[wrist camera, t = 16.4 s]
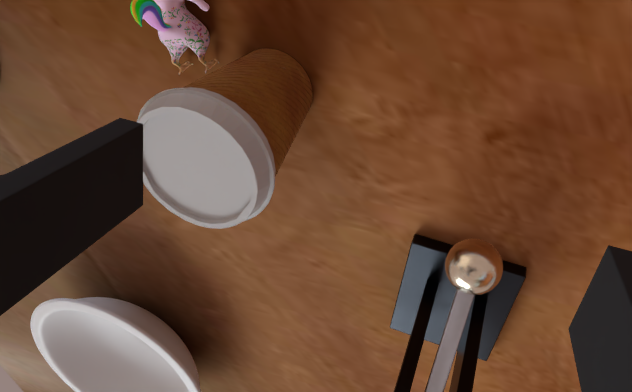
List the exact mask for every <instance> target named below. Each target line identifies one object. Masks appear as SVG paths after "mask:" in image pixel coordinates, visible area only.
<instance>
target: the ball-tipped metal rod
mask: <svg viewBox="0 0 632 392" xmlns="http://www.w3.org/2000/svg"><path fill="white" fill-rule="evenodd" d="M445 272H446V275H447V278H448V280H449V281H450V283H451V284H452V285H453V286H454V287H455V288H456V289H457V290H456V293H455V296H454V299H453V303H452V306H451V309H450V312H449V315H448V319H447V322H446V325H445V328H444V331H443V335H442V338H441V341H440V344H439V347H438V351H437V354H436V357H435V360H434V363H433V367H432V370H431V373H430V376H429V379H428V382H427V386H426V389H425V392H444V388H445V385H446V382H447V379H448V376H449V373H450V370H451V367H452V363H453V360H454V357H455V354H456V351H457V348H458V345H459V342H460V339H461V335H462V332H463V329H464V326H465V323H466V320H467V317H468V314H469V311H470V307H471V304H472V301H473V298H474V295H480V294H484V293H487V292H489V291H491V290H492V289H493V288H494V287H496V285H497V284H498V283H499V281H500V279H501V277H502V274H503V262H502V258H501V256H500V254H499V252H498V251H497V250H496V248H495V247H494V246H492V245H491V244H490V243H488V242H486V241H484V240H481V239H465V240H462V241H460V242H458V243H456V244H455V245H454V246H453V247H452V248H451V249H450V250H449V252H448V254H447V256H446V260H445Z"/></svg>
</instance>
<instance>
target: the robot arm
mask: <svg viewBox="0 0 632 392" xmlns="http://www.w3.org/2000/svg"><path fill="white" fill-rule="evenodd" d="M142 205H143V124H141V123H138V122H134V121H130V120H126V119H122V118H119V119H117V120H115V121H113V122H111V123H109V124H107V125H105V126H103V127H101V128H99V129H97V130H95V131H93V132H91V133H89V134H87V135H85V136H82V137H80V138H78V139H76V140H74V141H72V142H70V143H68V144H66V145H64V146H62V147H60V148H58V149H56V150H54V151H52V152H50V153H48V154H46V155H44V156H42V157H40V158H38V159H36V160H34V161H32V162H30V163H28V164H26V165H24V166H21V167H19V168H17V169H15V170H13V171H11V172H9V173H7V174H4V175H0V316H1V315H2V314H3V313H5V312H6V311H7V310H8V309H10V308H11V307H12V306H14V305H15V304H16V303H17V302H19V301H20V300H21V299H23V298H24V297H25V296H26V295H28V294H29V293H30V292H32V291H33V290H34V289H35V288H37V287H38V286H39V285H41V284H42V283H43V282H44V281H46V280H47V279H48V278H50V277H51V276H52V275H53V274H55V273H56V272H57V271H59V270H60V269H61V268H62V267H64V266H65V265H66V264H68V263H69V262H70V261H71V260H73V259H74V258H75V257H77V256H78V255H79V254H80V253H82V252H83V251H84V250H86V249H87V248H88V247H89V246H91V245H92V244H93V243H95V242H96V241H97V240H98V239H100V238H101V237H102V236H104V235H105V234H106V233H107V232H109V231H110V230H111V229H113V228H114V227H115V226H117V225H118V224H119V223H120V222H122V221H123V220H124V219H126V218H127V217H128V216H129V215H131V214H132V213H133V212H135V211H136V210H137V209H138V208H140V207H141V206H142ZM569 333H570V338H571V343H572V348H573V352H574V357H575V362H576V367H577V372H578V376H579V381H580V386H581V391H582V392H632V251H628V250H624V249H620V248H616V247H612V246H609V245H608V247H607V249H606V252H605V254H604V256H603V258H602V260H601V262H600V264H599V266H598V268H597V270H596V272H595V275H594V277H593V279H592V281H591V283H590V285H589V287H588V289H587V291H586V293H585V295H584V298H583V300H582V302H581V304H580V306H579V308H578V310H577V312H576V314H575V316H574V318H573V320H572V323H571V325H570V327H569Z"/></svg>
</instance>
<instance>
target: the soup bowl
mask: <svg viewBox="0 0 632 392" xmlns="http://www.w3.org/2000/svg"><path fill="white" fill-rule="evenodd" d="M31 332H32V335H33V338H34V341H35V343H36V345H37V347H38V349H39V351H40V352H41V354H42V356H43V357H44V358H45V360H46V361H47V363H48V364H49V365H50V366H51V368H52V369H53V370H54V371H55V372H56V373H57V375H58V376H59V377H60V378H61V379H62V380H63V381H64V382H65V383H66V384H67V385H68V386H70V387H71V388H72V389H73V390H74V391H75V392H201V390H200V382H199V376H198V372H197V368H196V365H195V362H194V360H193V358H192V356H191V354H190V352H189V350H188V348H187V347H186V345H185V344H184V342H183V341H182V340H181V338H180V337H179V336H178V335H177V334H176V333H175V332H174V331H173V330H172V329H171V328H170V327H169V326H168V325H167V324H166V323H165V322H163V321H162V320H161V319H159V318H158V317H157V316H155V315H154V314H152V313H150V312H149V311H147V310H145V309H143V308H141V307H139V306H137V305H134V304H132V303H129V302H126V301H123V300H119V299H113V298H106V297H87V298H81V299H76V300H75V299H67V298H57V299H51V300H48V301H45V302H43V303H42V304H40V305H39V306H38V307H37V308H36V309H35V310H34V312H33V314H32V316H31Z"/></svg>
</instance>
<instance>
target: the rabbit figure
mask: <svg viewBox="0 0 632 392" xmlns="http://www.w3.org/2000/svg"><path fill="white" fill-rule="evenodd" d="M189 1H192V2H194V3H195V4H197V5H198V6H199V7H200V8H201V9H202V10H203V11H208V10H209V8H210V7H209V5H208V4H207V3H206V2H205V1H203V0H189ZM158 5H159V6H160V8H161V10H162V13H161V10H160V8H159V6H158ZM130 10H131V13H132V16H133V17H134V19H135V20H136V22H137V23H138V24H139V25H140V26H141V27H142V19H145V20H146V22H147V23H148V24H150V25H151V26H152V27H154V28H156V29H157V30H158V35H159V38H160V40H161V42H162V43H163V44H164V45H165V46H166V47H167V48H168V50H169V52H170V54H171V60H172V63H173V64H174V65H176V66H177V67H178V68H180V71H179V76H180V73H181V72H184V71H185V69H187V68H188V67H189V66H190V65H193V64H192V63H190V62H189V61H187V62H185V64H184V63H183V64H182V65H181V64H180V63H179V58H180V57H181V55H182V54H183V53H184V52H185V51H186V50H187V48H188V47H189V48H191V49H192V50H193V51H194V53H195V54H196V55H197V56H198V59H199V61H200V62H202V63H203V64H204V65H205V66H206V70H205V74H206V72H207V70H210V69H211V68H212V67H213V66H214V65H216V63H217V62H218V63H219V61H216V59H213V60H211V62H208V63H207V62H206V61H205V60H204V56H205V53H206V50H207V48H208V45H209V43H210V35H209V32H208V30H207V28H206V27H205V26H204V25H203V24H202V23H201V22H200V21H199V20H198V19H197V18H196V17H195V16H194V15H193V14H191V13H190V12H189V11H188V10H187V8H186V6H185V0H133V1H132V2H131V5H130ZM214 60H215V61H216V62H214ZM189 63H190V64H189Z"/></svg>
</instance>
